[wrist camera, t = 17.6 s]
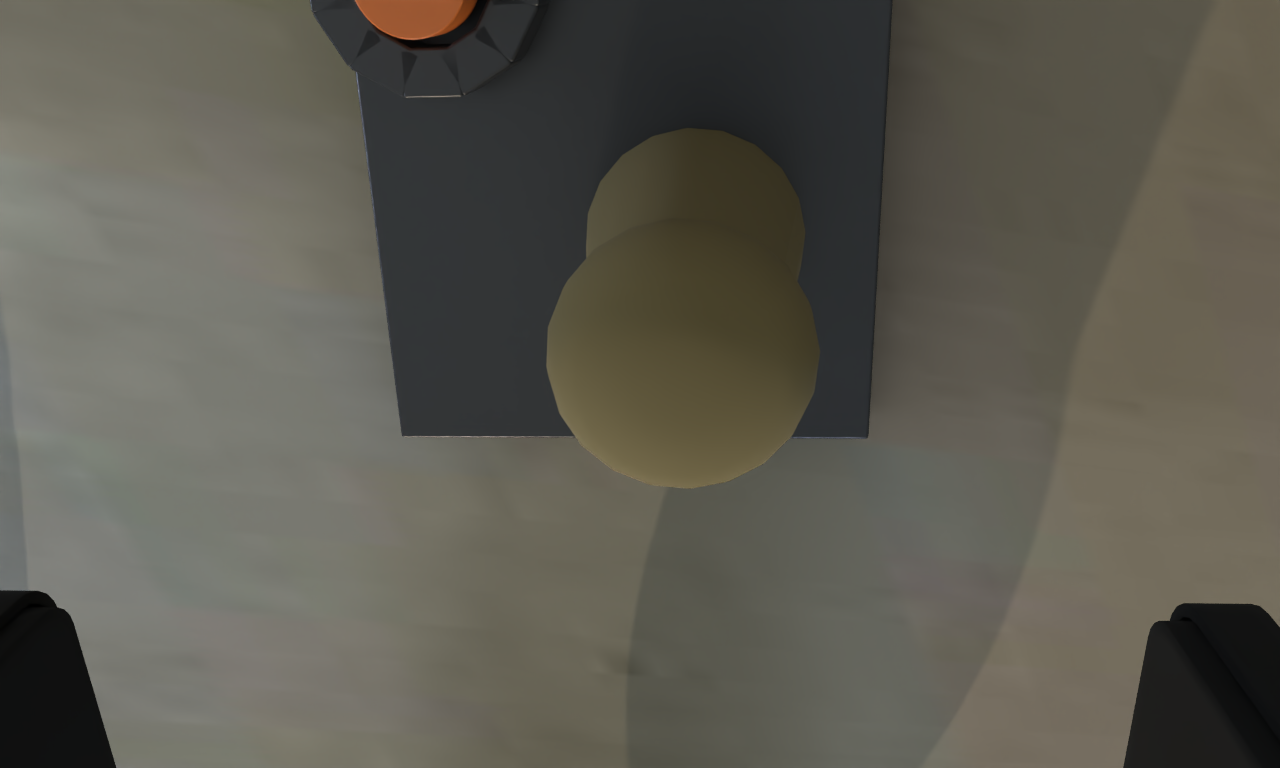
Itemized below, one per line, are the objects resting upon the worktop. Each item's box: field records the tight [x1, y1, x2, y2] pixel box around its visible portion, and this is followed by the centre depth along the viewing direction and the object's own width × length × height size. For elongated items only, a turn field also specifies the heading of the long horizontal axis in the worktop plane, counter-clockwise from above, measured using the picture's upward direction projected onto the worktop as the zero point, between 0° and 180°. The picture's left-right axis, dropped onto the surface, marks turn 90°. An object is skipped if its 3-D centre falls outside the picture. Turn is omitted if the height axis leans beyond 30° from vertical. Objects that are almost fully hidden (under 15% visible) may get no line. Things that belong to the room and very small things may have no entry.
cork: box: [546, 128, 820, 489], centre depth 23 cm, size 6×6×11 cm
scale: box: [310, 0, 893, 439], centre depth 28 cm, size 16×14×4 cm
